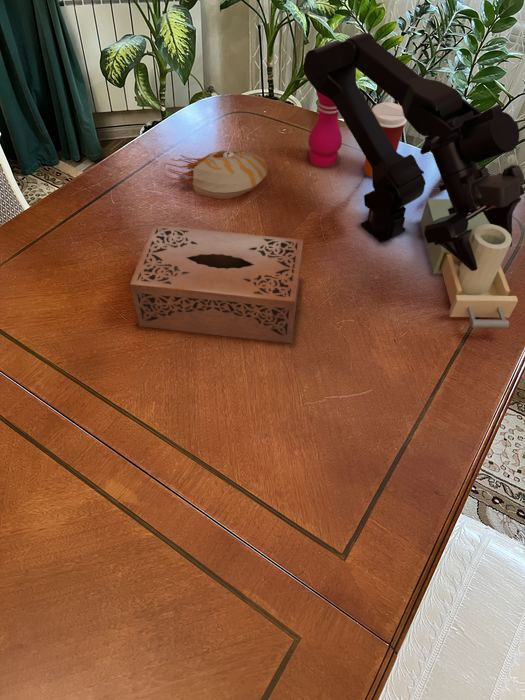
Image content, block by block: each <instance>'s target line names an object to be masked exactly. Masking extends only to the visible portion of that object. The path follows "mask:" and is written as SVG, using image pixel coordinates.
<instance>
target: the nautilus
mask: <svg viewBox="0 0 525 700" xmlns="http://www.w3.org/2000/svg"><path fill="white" fill-rule="evenodd" d="M179 156H180V157H182V158H180V157H179V158H178V159H172V158H170V160H171V161H175V162H179V161H182V162H184V163H187V164H186V165H176V164H171V163H167V162H164V164H165V165H169V166H173V167H176V168H177V167H178V168H179V169H187V170H188V171H187V172H186V171H185V172H182V171H179V170H175V169H172V168H170V167H169V168H168V171H169V172H170V173H172V174H176V175H178V176H179V178H175V177H170V176H167V175H165V177H166V178H168V179H171V180H176V181H178V182H176V184H186V185H187V186H189V187H191V188H193V189H194V191H195V192H196V194H197V195H201V196H204V197H208V198H213V199H220V200H228V199H233V198H237V197H240V196H242V195H244V194H246V193H248V192H251V191H253V190H254V189H255V188H256V187H257V186H258V185H260V183H261V182H262V181H263V180H264V179H265V177H266V176H267V174H268V172H269V169H268V165H267V162H266V159H265V158H264V157H263V156H261V155H260V154H258V153H257V152H254V151H251V150H219V151H214V152H211V153H209V154H207V155H205V156H203V157H198V158H189V157H187V156H184V155H182V154H180V155H179ZM183 176H186V177H187V178H184V177H183ZM186 189H188V187H185V188H184V190H186Z"/></svg>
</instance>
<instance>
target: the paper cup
mask: <svg viewBox="0 0 525 700" xmlns="http://www.w3.org/2000/svg"><path fill="white" fill-rule="evenodd" d="M371 110H372V112H373V113H374V115H375V117H376V118H377V120H378V122H379V123H380V125H381V127H382V129H383V130H384V132H385V134H386V135H387V137H388V139H389V141H390V142H391V144H392V146H393V147H394V149H395V151H396V152H397V151H398V148H399V144H400V141H401V137H402V135H403V131H404V127H405V125H406V123H407V122H408V121H407V120H406V119H405V117H404V113H403V109H402V106H401V105H400V104H399V103H395V102H389V101H388V102H387V101H386V102H380V103H377V104H375V105H374V106H373V107H372V108H371ZM363 169H364V174H365V175H366V176H367V177H369V178H372V167H371V165H370V164H369V162H368V160H367V158H366V157H365V159H364V168H363ZM372 179H373V178H372Z"/></svg>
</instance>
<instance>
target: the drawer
mask: <svg viewBox="0 0 525 700" xmlns="http://www.w3.org/2000/svg"><path fill="white" fill-rule="evenodd" d="M461 263H462V262H461V261H460V260H459V259H457V258H456V257H455V256H454V255H453V254H452V253H444V255H443V258H442V261H441V264H440V266H441V270H442V274H441V275H442V277H443V280H444V284H445V289H446V291H447V295H448V299H449V303H450V307H449V311H448V313H449V317H450V318H469V319H470V321H469V328H471V329H509V326H510V321H509V319H508V318H510V317H511V315H512V313H513V311H514V310H515V308H516V306H517V304H518V302H519V299H518V297H517V295H509V294H510V293H511V289H510V286H509V284H508V281H507V279H506V276H505V273H504V270H503V268H502V265H501V266H500V268H499V270H498V272H497V274H496V276H495V278H494V280H493V282H492V285H491V287H490V289H489V290H488V292H487V293H485V294H484V295H468V294H465V293H463V292H462V289H461V286H460V282H459V279H458V276H457V273H458V270H459V268H460V265H461ZM476 318H479V319H476ZM480 318H499V319H480ZM506 318H507V319H506Z"/></svg>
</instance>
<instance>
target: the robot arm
mask: <svg viewBox="0 0 525 700" xmlns="http://www.w3.org/2000/svg"><path fill="white" fill-rule="evenodd" d="M302 68H303V73H304V76H305V78H306V79H307V81H308V82H309V84H311V86H312V88H314V90H315V92H316V91H317V92H319V93H320V94H322V95H324V96H326V97H327V98H329V99H331V100H332V101H333V102H334V104H335V106H336V107H337V109H338V111H339V112H338V114H339V115H340V116H341V118H342V119H343V121H344V123H345V124H346V126H347V128H348V130H349V131H350V133H351V135H352V137H353V138H354V140H355V142H356V144H357V145H358V147H359V148H360V150H361V152H362V153H363V155H364V156H365V158H367V160H368V162H369V164H370V165H371V167H372V188H373V190H371V191H369V192H367V193H365V194H364V195H363V201H364V206H365V208H367V209H368V214H367V218H366V220H365V221H362V222H360V227H361V228H362V229H363V230H364V231H366V232H367V233H368V234H369V235H371V237H373V238H374V239H375V240H377V241H378V242H379V243H381V244H385V243H386V242H388V241H389V240H391V239H394V238H396V237H398V236H400V235H402V234H403V233H405V232H406V228H405V226H404V224H405V221H406V217H405V215H406V211H407V208H406V207H405V206H406V205H408V204H410V203H412V202H414V201H415V200H417V199H419V198H421V197H422V196H423V194H424V192H425V186H426V185H427V184H426V180H425V177H424V175H423V174H425V172H424V170H422V168H421V167H420V166H419V164H418V162H417V159H416V157H414V155H412V154H411V153H410V154H408V155H407V156H404V155H401V154H400V153H398V152H397V151H395V149H394V147H393V146H392V144H391V142H390V141H389V139H388V137H387V135H386V134H385V132H384V130H383V129H382V127H381V125H380V123H379V122H378V120H377V118H376V117H375V115H374V113H373V112H372V110H371V109H372V108H371V107H370V105H369V103H368V101H367V100H366V97H364V94H363V93H362V91H361V89H360V88H359V86H358V85H357V70H358V71H359V72H360V73H362V75H364V76H365V77H366V78H368V79H369V80H370V81H371V82H372V83H374V84H375V85H376V86H377V87H378V88H380V89H381V90H382V91H384V92H385V93H386V94H387V95H389V97H391V98H392V99H394V101H396V102H397V104H398V105H400V106H402V109H403V113H404V117H405V119H406V120H407V122H408V123H409V124H410V126H411V127H412V128H413V130H415V132H417V133H418V134H419V135H421V136H423V137H424V141H423V145H422V146H421V149H420V155H426V154H427V153H430V152H431V155H432V157H433V159H434V162H435V164H436V167H437V169H438V172H439V175H440V177H441V181H442V183H441V184H440V185H438V189H439V191H440V192H444V191H446V194H447V196H448V198H449V199H450V201H451V204H452V207H450V208H449V209H448V212H449V215H448V216H445V217H441V218H438V219H437V220H435V221H433V222H432V223H430V224H428V225H427V226H426V227H425V230H424V235H425V237H426V240H427V242H428V243H433V242H434V244H435V245H439V244H440V245H441V246H442V247H444V248H445V249H446V250H448V251H449V252H450V253H452V254H453V255H454V256H455V257H456V258H457V259H459V260H460V261H461V262H462V263H463V264H464V265H465V266H466V267H467V268H469V269H470V270H471V271H476V270H477V264H476V260H475V257H474V254H473V251H472V248H471V244H470V242H469V238H470V235H471V232H472V229H471V230H467V228H468V220H470V219H472V218H473V217H475V216H477V215H478V214H480V213H481V212H483V213H484V215H485V216H486V218H487V220H488V221H489V223H490V224H493V225H497V226H500V227H502V228H504V229H505V230H506V231H507V232H508V233H509V234H510V235H511V238H512V239H513V216H514V215H513V214H514V211H515V209H516V208H517V205H518V204H520V202H521V201H522V198H521V197H522V196H523V195H524V194H525V189H524V186H525V174H524V173H523V170H522V168H521V166H520V165H519V164H511V165H509V166H507V167H505V168H504V169H503V171H502V172H499V173H496V174H490V171H489V169H488V168H487V167H486V165H483V166H480V167H479V163H482V162H485V161H488V160H490V159H494V158H496V157H499V156H502V155H505V154H507V153H510V152H512V151H514V150H515V149H516V148H517V146H518V144H519V141H520V129H519V125H518V122H517V120H515V119H514V118H513V117H512V116H511V114H509V113H508V112H504V111H502V107H501V105H500V104H496V105H493V106H492V107H490V108H487V109H486V110H484V111H481V110H479V109H478V108H477V107H475V106H473V104H471V103H470V102H469V101H467V100H465V98H463V96H462V95H461V92H459V91H458V90H457V89H456V88H454V87H452V86H450V85H448V84H446V83H444V82H442V81H439V80H435V79H430V78H429V79H428V78H426V77H423V76H421V75H419V74H418V73H417V72H416V71H414V70H412V68H410V67H409V66H408V65H407V64H405V63H404V62H403V61H401V60H400V59H399V58H397V57H396V56H395V55H394V54H393V53H391V51H389V50H387V49H386V48H384V46H382V45H381V44H380V43H378V42H377V41H376V40H375V38H374V36H373V35H372V34H371V33H367V32H361V33H359V34H356V35H354V36H351V37H348V38H346V39H345V40H344V41H339V40H335V41H331V42H329V43H327V44H324V45H321V46H318V47H315V48H313V49H310V50H308V51H307V52H306V54H305V56H304V60H303V66H302ZM478 207H479V208H478ZM470 212H471V213H470ZM455 213H456V214H455ZM468 213H470V214H468ZM451 214H452V215H451ZM465 230H466V231H465ZM512 246H513V240H512V241H511V244H510V247H509V248H511V247H512Z"/></svg>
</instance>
